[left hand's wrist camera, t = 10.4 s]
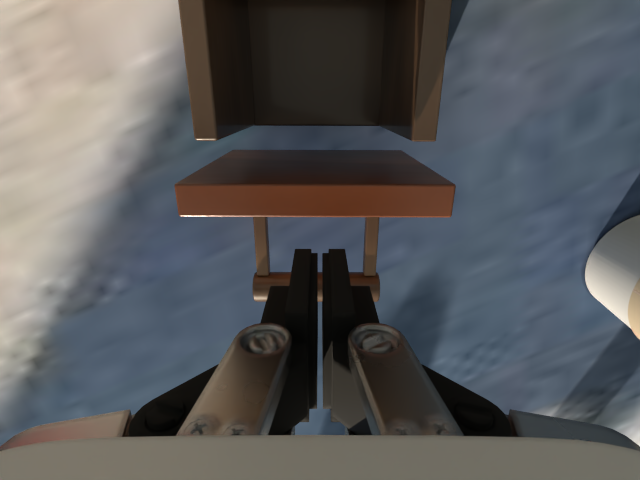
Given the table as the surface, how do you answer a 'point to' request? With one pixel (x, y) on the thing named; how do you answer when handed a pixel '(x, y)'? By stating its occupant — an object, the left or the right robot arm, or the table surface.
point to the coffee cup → (618, 272)
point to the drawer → (315, 113)
